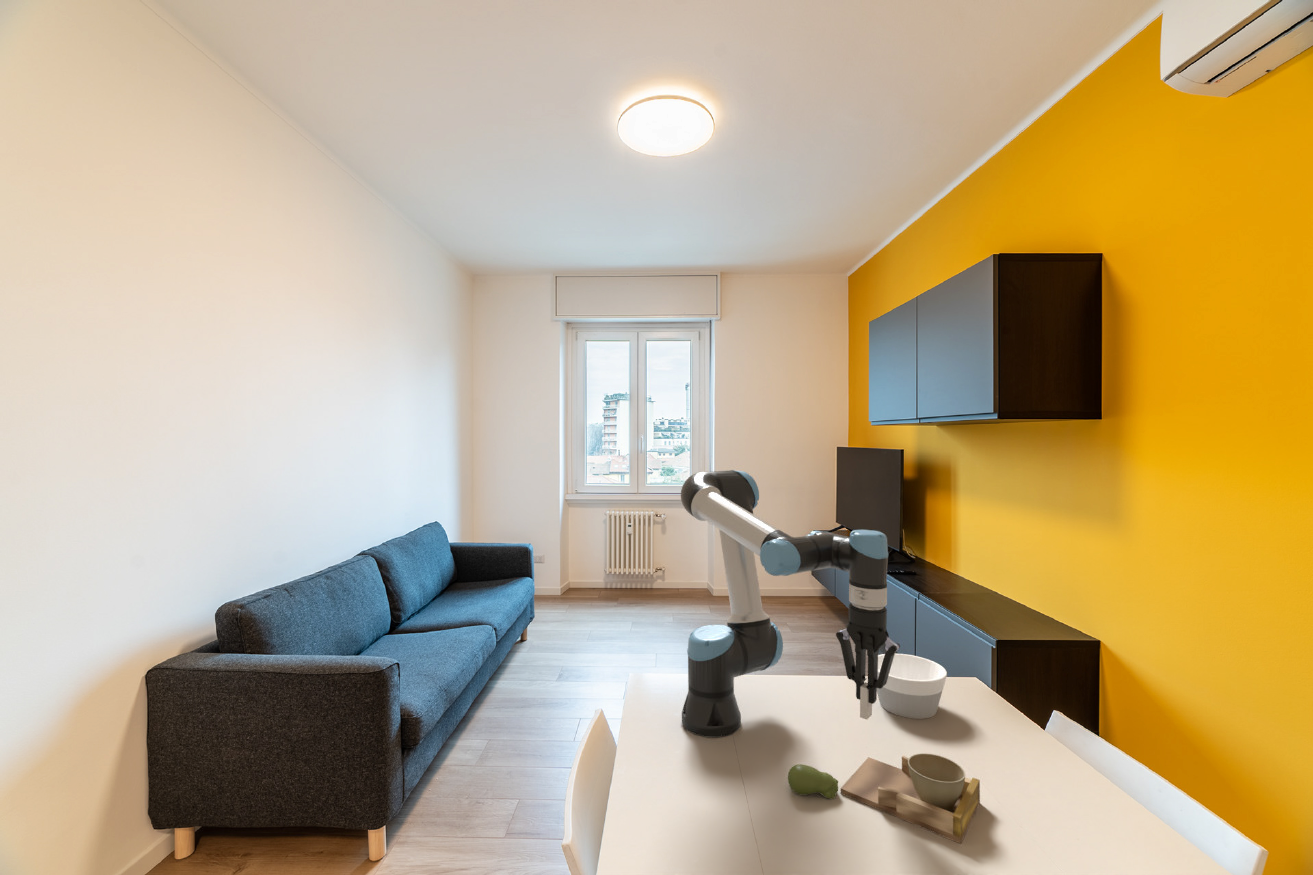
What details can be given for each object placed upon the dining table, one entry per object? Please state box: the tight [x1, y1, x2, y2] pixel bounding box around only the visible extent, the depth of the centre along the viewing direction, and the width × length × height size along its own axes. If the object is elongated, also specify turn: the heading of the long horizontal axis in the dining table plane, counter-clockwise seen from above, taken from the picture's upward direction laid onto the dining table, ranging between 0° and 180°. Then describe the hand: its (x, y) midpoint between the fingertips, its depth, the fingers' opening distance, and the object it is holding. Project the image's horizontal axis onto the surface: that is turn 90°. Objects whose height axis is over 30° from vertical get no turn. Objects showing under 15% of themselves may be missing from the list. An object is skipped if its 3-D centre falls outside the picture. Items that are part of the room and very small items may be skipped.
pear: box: [787, 763, 839, 800], centre depth 114 cm, size 6×5×10 cm
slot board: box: [840, 755, 981, 845], centre depth 112 cm, size 22×15×4 cm
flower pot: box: [908, 753, 966, 811], centre depth 109 cm, size 10×10×7 cm
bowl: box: [877, 653, 948, 720], centre depth 152 cm, size 19×19×11 cm
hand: (865, 715), depth 118 cm, fingers closed
